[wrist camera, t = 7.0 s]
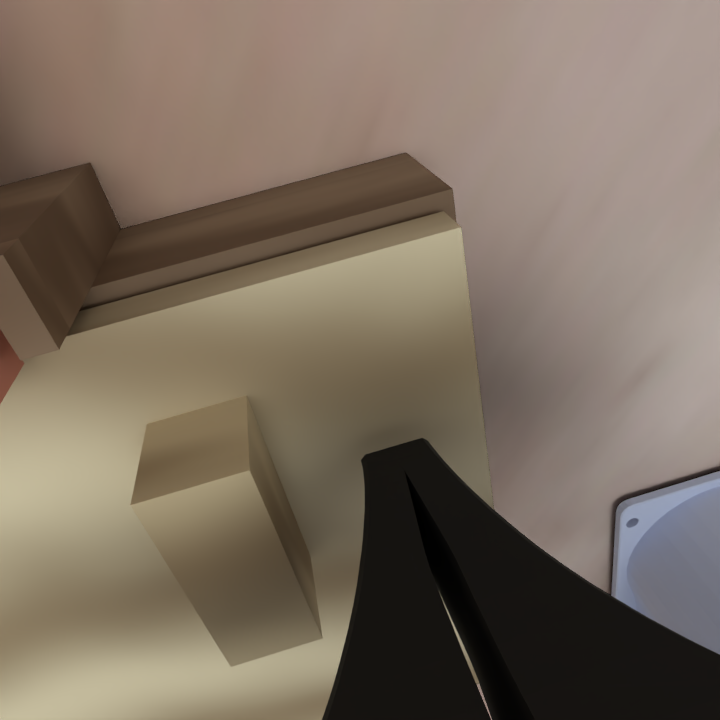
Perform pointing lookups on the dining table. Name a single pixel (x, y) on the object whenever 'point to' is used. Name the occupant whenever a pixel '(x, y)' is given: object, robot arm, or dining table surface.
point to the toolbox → (177, 238)
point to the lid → (223, 477)
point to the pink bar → (7, 366)
